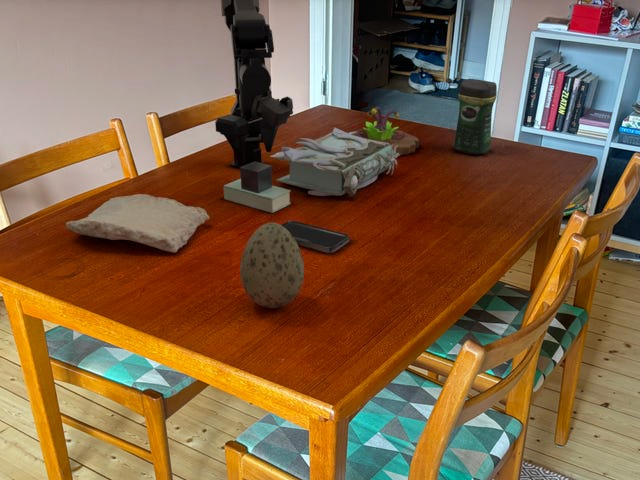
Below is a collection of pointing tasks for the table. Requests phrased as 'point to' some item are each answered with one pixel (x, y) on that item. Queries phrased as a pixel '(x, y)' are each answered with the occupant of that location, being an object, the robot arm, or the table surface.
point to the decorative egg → (272, 266)
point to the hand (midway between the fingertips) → (255, 157)
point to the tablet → (143, 221)
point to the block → (256, 177)
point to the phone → (316, 237)
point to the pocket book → (258, 197)
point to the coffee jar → (475, 116)
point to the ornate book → (337, 163)
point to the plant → (388, 133)
